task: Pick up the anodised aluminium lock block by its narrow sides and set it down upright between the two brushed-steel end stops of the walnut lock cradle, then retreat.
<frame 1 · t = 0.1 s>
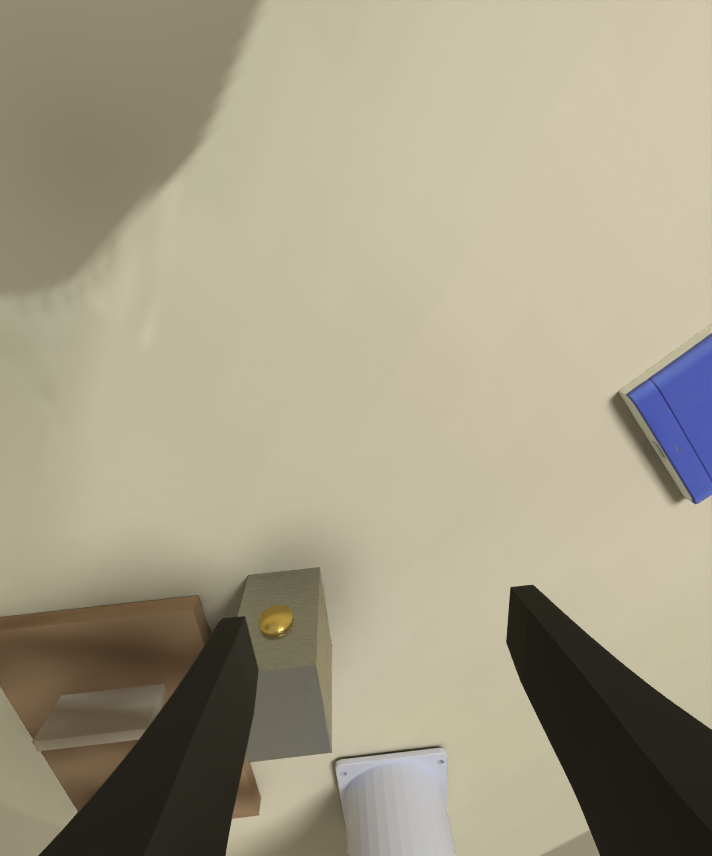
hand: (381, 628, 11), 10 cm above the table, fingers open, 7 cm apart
lock cradle: (142, 722, 26), on the table
lock block: (292, 610, 24), on the table
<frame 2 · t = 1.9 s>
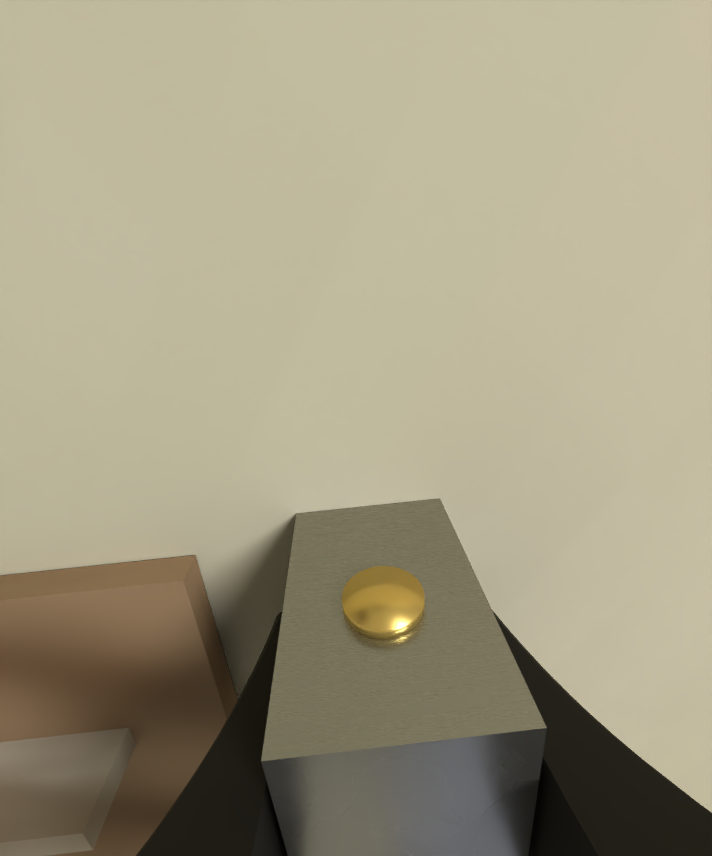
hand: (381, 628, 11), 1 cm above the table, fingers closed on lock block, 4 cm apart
lock cradle: (96, 787, 15), on the table
lock block: (375, 589, 12), on the table, touching gripper
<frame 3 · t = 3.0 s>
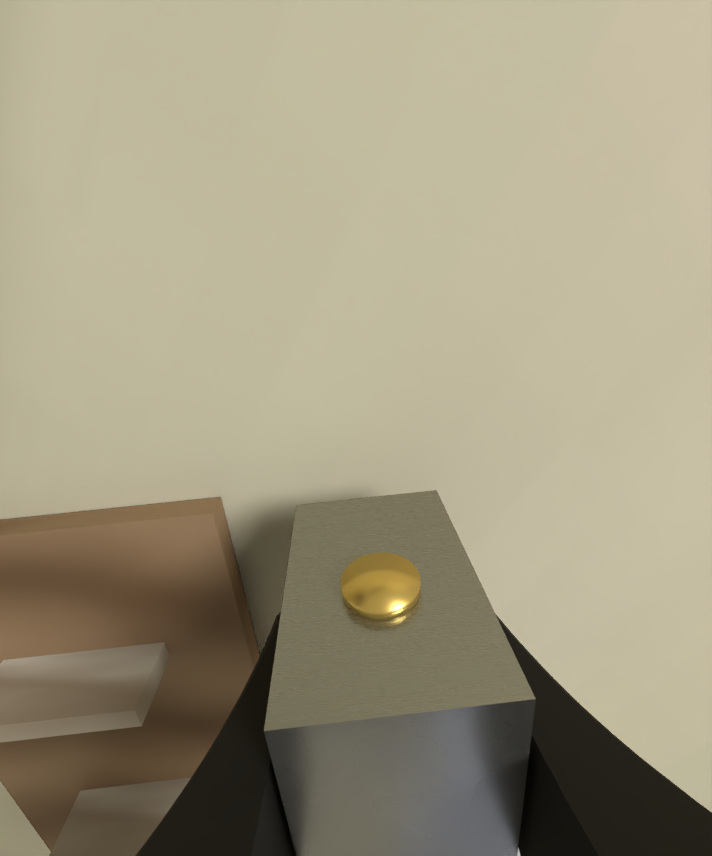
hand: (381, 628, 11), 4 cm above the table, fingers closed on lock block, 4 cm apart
lock cradle: (132, 705, 18), on the table
lock block: (373, 580, 13), point 3 cm above the table, touching gripper
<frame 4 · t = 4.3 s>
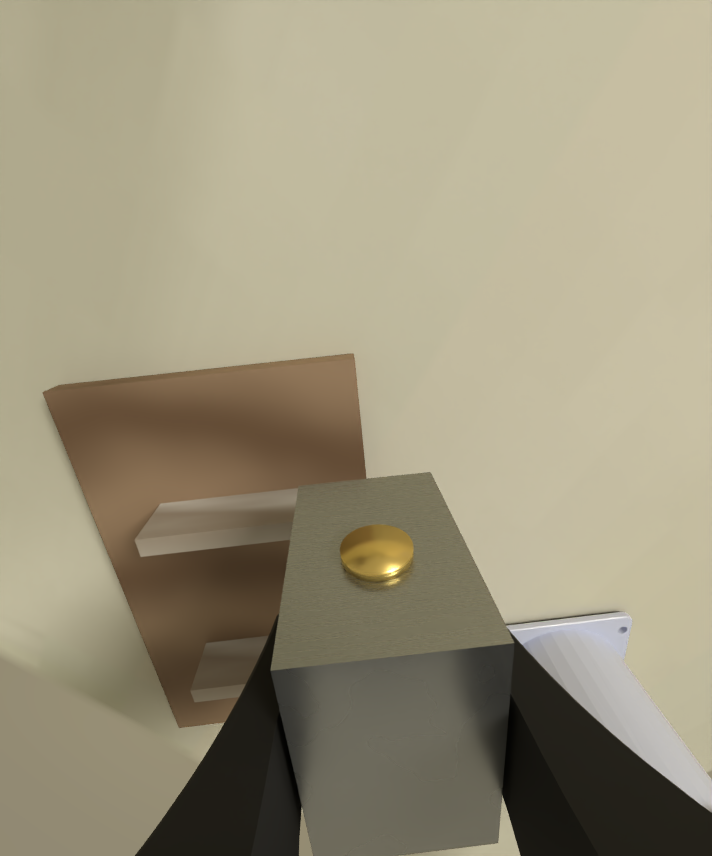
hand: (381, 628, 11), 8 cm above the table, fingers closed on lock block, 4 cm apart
lock cradle: (253, 564, 20), on the table
lock block: (371, 559, 13), point 6 cm above the table, touching gripper
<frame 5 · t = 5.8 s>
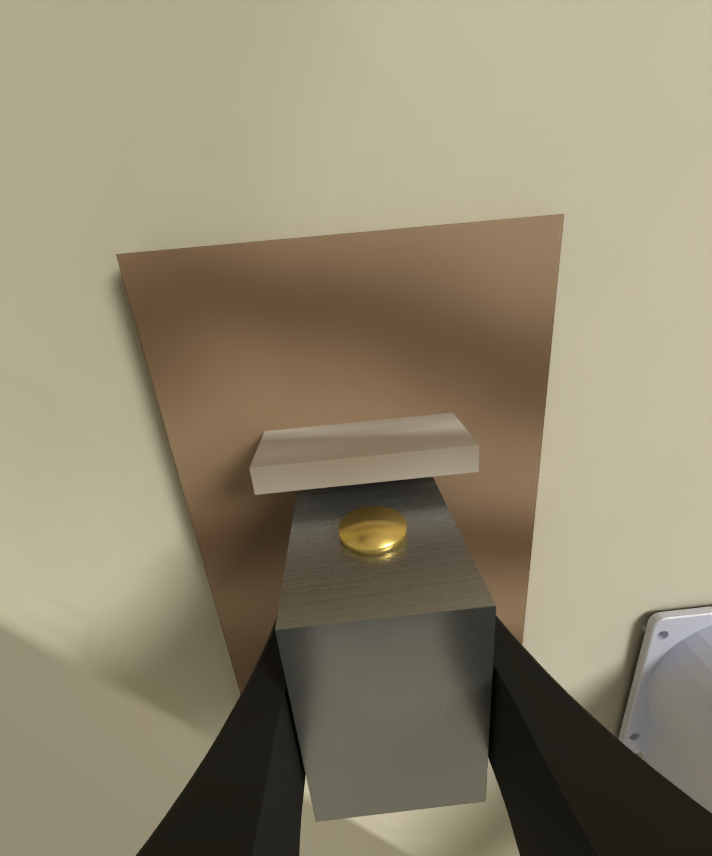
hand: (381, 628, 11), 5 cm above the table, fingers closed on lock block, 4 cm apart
lock cradle: (367, 524, 15), on the table
lock block: (369, 544, 14), point 2 cm above the table, touching gripper
when the fingers open (3 cm above the table, at t = 6.6 s): lock block stays where it is, resting on lock cradle.
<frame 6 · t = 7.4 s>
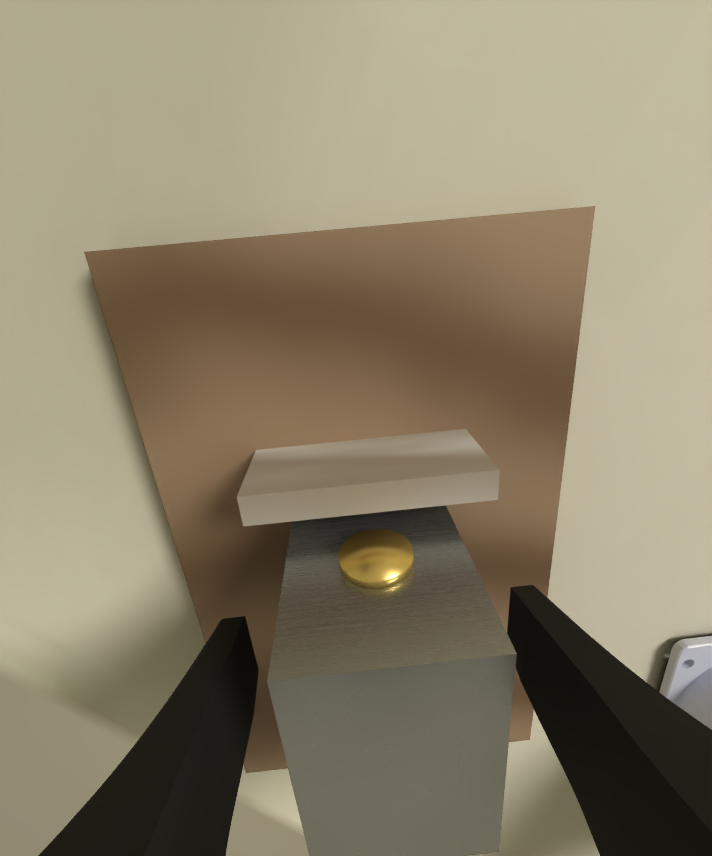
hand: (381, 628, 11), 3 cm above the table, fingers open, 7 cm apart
lock cradle: (369, 547, 14), on the table
lock block: (371, 561, 13), point 1 cm above the table, touching lock cradle
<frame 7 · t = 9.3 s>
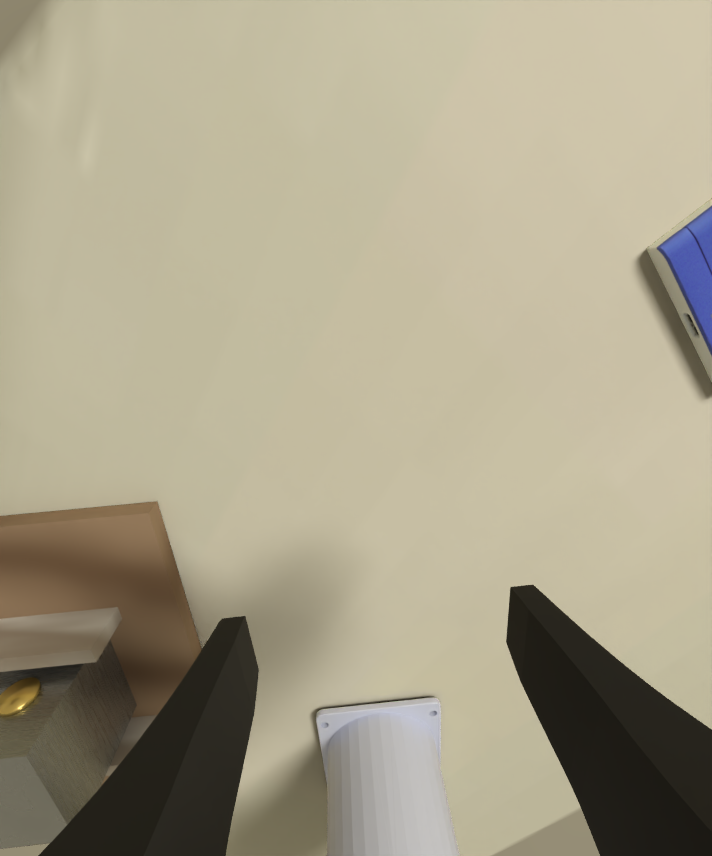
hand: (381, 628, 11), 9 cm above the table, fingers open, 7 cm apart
lock cradle: (97, 659, 23), on the table
lock block: (85, 672, 22), point 1 cm above the table, touching lock cradle
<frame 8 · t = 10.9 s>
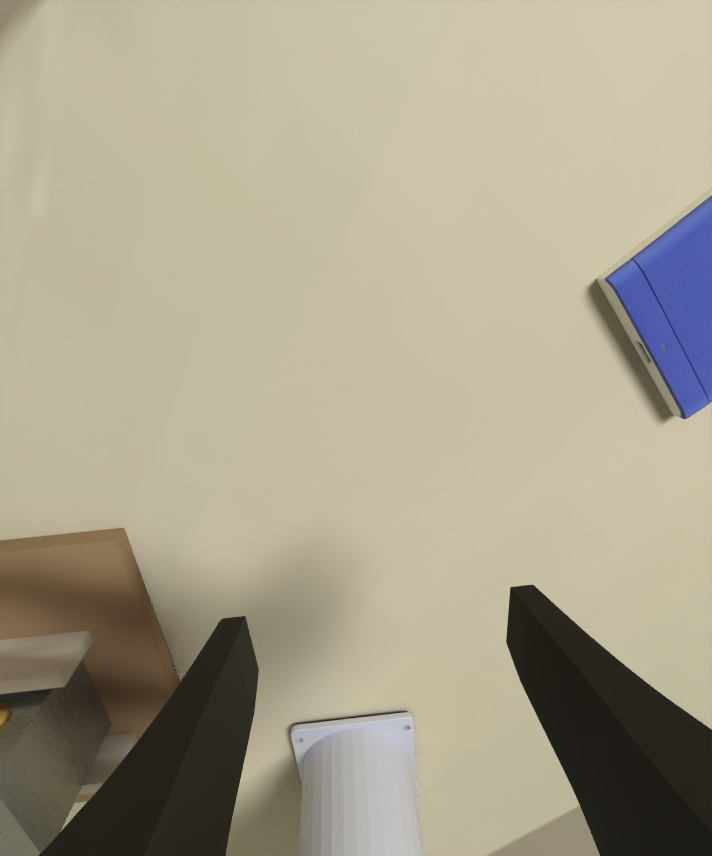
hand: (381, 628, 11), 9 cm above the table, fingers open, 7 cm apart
lock cradle: (72, 679, 24), on the table
lock block: (60, 693, 23), point 1 cm above the table, touching lock cradle
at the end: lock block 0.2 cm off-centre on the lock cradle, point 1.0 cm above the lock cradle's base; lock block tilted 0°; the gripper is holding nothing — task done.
